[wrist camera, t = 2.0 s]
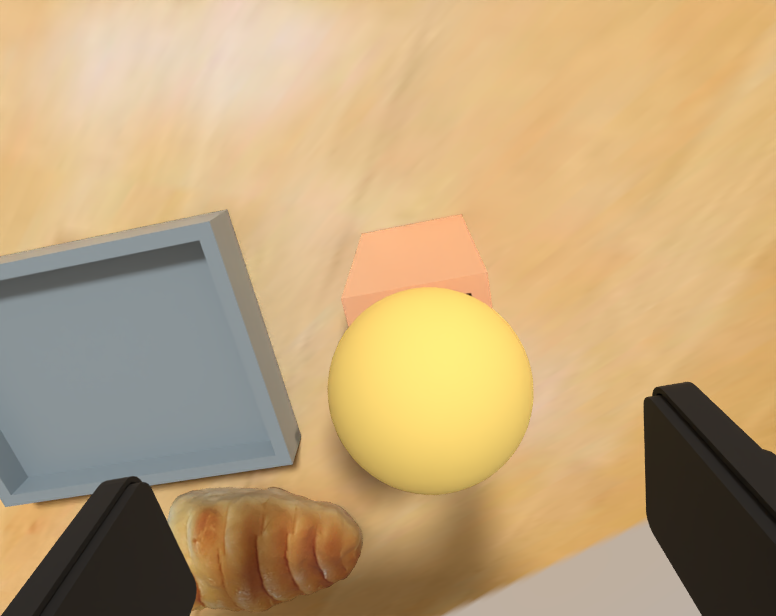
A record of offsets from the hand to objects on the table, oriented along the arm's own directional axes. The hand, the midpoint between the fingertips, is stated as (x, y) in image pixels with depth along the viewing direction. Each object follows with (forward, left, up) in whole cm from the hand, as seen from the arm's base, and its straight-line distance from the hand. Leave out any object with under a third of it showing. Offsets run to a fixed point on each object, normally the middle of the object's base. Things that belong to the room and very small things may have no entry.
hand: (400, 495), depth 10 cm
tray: (+13, +1, -13) cm, 18 cm away
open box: (-1, 0, -13) cm, 13 cm away
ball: (-1, 0, -4) cm, 4 cm away
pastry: (+10, +12, -13) cm, 20 cm away
